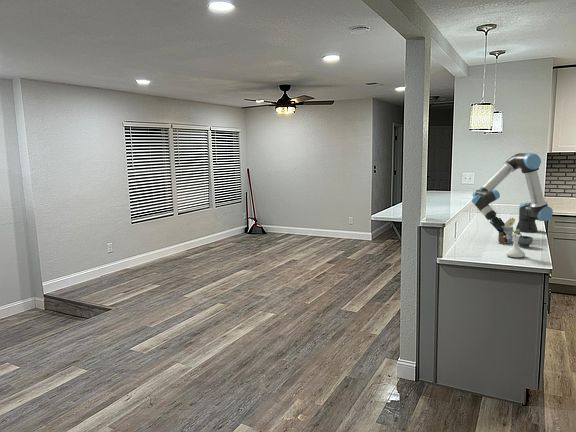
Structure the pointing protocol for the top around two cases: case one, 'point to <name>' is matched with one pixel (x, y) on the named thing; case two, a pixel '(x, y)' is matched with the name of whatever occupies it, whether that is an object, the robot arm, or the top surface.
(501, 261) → the top surface
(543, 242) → the top surface
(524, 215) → the robot arm
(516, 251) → the flower in vase
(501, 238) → the wooden drawer pull
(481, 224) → the top surface
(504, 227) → the slotted block
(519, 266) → the top surface
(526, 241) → the mortar and pestle
